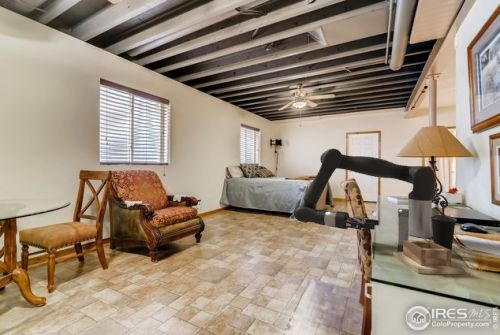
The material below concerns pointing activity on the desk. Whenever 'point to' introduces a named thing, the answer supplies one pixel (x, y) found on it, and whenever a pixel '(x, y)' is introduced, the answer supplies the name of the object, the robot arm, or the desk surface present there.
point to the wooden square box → (427, 258)
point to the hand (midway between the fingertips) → (376, 224)
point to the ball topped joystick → (402, 227)
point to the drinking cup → (443, 229)
